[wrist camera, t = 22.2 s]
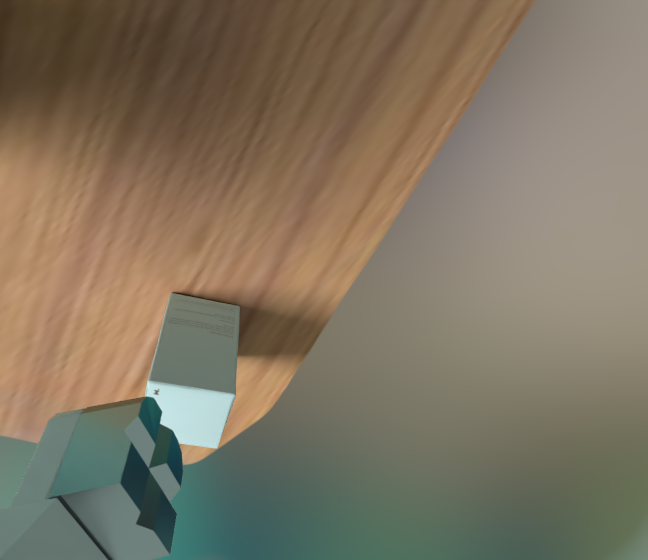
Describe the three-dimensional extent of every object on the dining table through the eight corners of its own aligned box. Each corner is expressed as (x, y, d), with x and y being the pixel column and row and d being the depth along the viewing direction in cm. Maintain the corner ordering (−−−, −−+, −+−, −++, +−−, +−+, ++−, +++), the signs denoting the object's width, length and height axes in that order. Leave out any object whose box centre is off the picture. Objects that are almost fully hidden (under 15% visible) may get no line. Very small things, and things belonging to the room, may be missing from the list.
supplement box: (158, 344, 58) (134, 439, 47) (170, 290, 54) (146, 380, 44) (227, 357, 60) (217, 451, 49) (243, 305, 56) (236, 395, 45)
